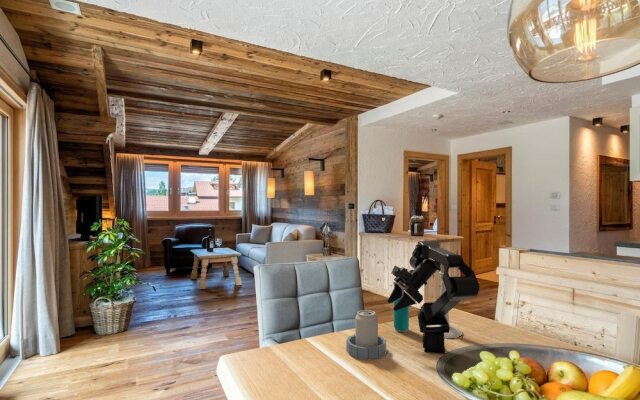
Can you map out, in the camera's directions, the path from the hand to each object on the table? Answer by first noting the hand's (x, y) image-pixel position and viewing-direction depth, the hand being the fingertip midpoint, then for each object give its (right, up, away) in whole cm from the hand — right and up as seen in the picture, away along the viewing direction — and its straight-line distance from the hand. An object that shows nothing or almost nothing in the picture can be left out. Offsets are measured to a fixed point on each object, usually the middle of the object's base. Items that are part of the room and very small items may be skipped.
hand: (390, 305), depth 124 cm
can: (-9, -13, -5) cm, 17 cm away
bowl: (-9, -14, -5) cm, 17 cm away
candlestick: (+23, -14, +11) cm, 29 cm away
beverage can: (+7, -14, +14) cm, 21 cm away
